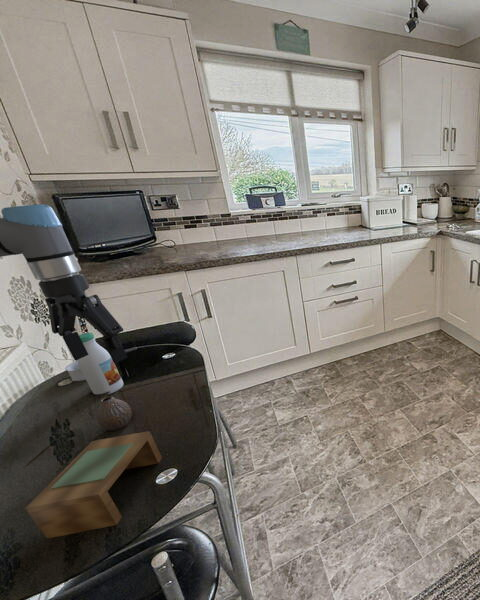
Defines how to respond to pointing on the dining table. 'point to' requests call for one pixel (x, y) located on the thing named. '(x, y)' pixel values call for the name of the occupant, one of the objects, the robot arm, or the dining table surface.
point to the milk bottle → (99, 367)
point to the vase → (113, 413)
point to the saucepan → (76, 371)
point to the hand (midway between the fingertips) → (100, 358)
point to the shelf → (90, 485)
